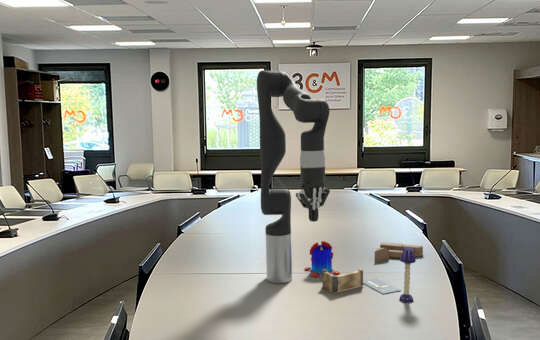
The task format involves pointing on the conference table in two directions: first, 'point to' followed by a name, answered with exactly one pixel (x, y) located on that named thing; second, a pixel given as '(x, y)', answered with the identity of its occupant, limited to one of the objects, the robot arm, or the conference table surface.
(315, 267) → the fantasy tower
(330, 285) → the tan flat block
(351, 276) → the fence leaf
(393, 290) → the card
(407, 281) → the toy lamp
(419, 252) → the wooden block set
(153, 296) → the conference table surface
